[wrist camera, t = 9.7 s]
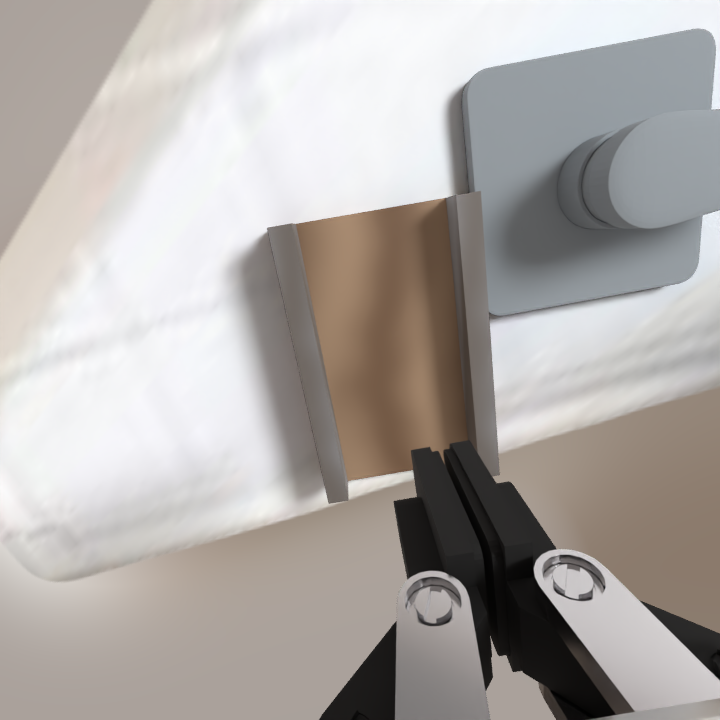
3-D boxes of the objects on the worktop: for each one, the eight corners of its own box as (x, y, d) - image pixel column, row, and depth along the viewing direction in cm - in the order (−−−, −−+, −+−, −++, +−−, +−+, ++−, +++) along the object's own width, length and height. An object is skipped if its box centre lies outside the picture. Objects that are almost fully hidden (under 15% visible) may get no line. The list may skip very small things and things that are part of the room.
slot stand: (468, 194, 22) (487, 189, 20) (487, 448, 27) (504, 474, 25) (270, 228, 22) (260, 228, 20) (325, 475, 27) (323, 504, 25)
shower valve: (832, 281, 19) (517, 339, 19) (727, 270, 24) (479, 316, 25) (893, -47, 15) (499, 28, 15) (753, 23, 21) (459, 78, 21)
